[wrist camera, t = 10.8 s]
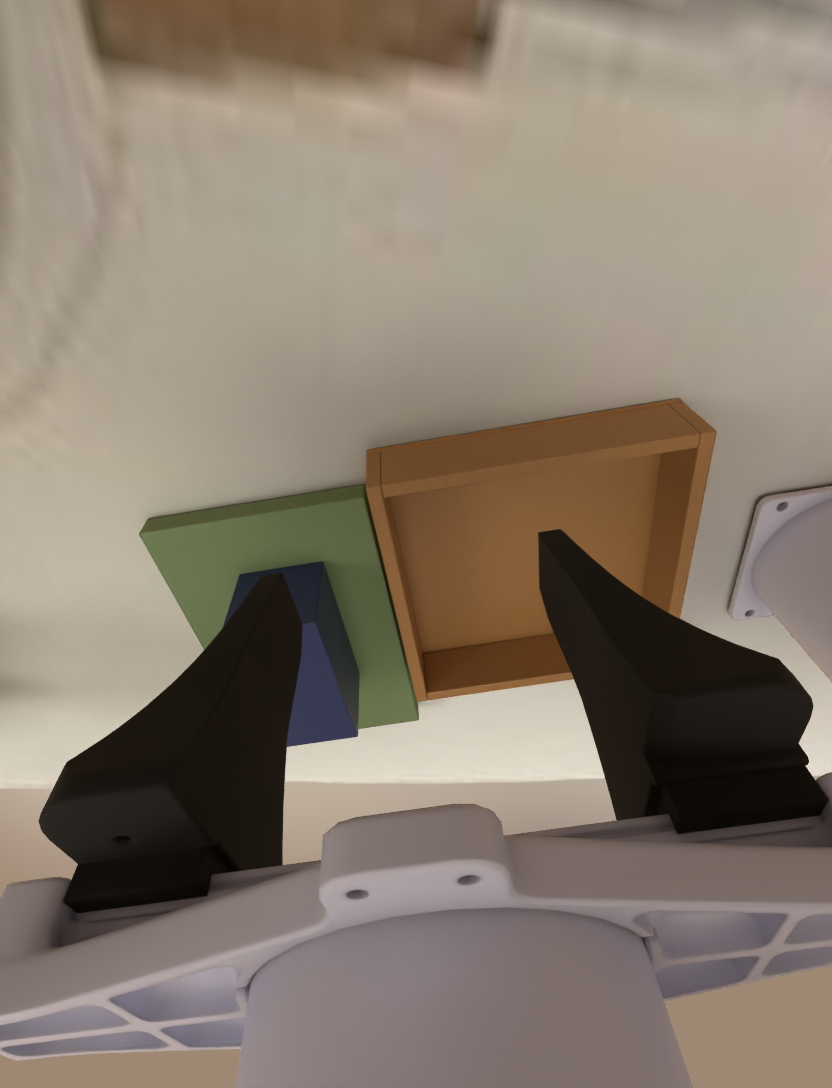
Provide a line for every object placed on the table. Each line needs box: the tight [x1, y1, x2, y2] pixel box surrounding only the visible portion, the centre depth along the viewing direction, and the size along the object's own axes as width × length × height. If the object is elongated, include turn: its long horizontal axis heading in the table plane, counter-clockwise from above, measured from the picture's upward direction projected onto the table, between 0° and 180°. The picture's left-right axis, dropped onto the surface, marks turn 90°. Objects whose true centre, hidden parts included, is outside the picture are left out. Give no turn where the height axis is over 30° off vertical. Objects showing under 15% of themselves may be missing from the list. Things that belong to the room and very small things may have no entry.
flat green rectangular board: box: [139, 484, 419, 729], centre depth 29 cm, size 10×16×1 cm, turn 9°
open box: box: [366, 398, 716, 702], centre depth 25 cm, size 13×13×3 cm
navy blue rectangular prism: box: [223, 561, 360, 747], centre depth 26 cm, size 4×8×4 cm, turn 9°
